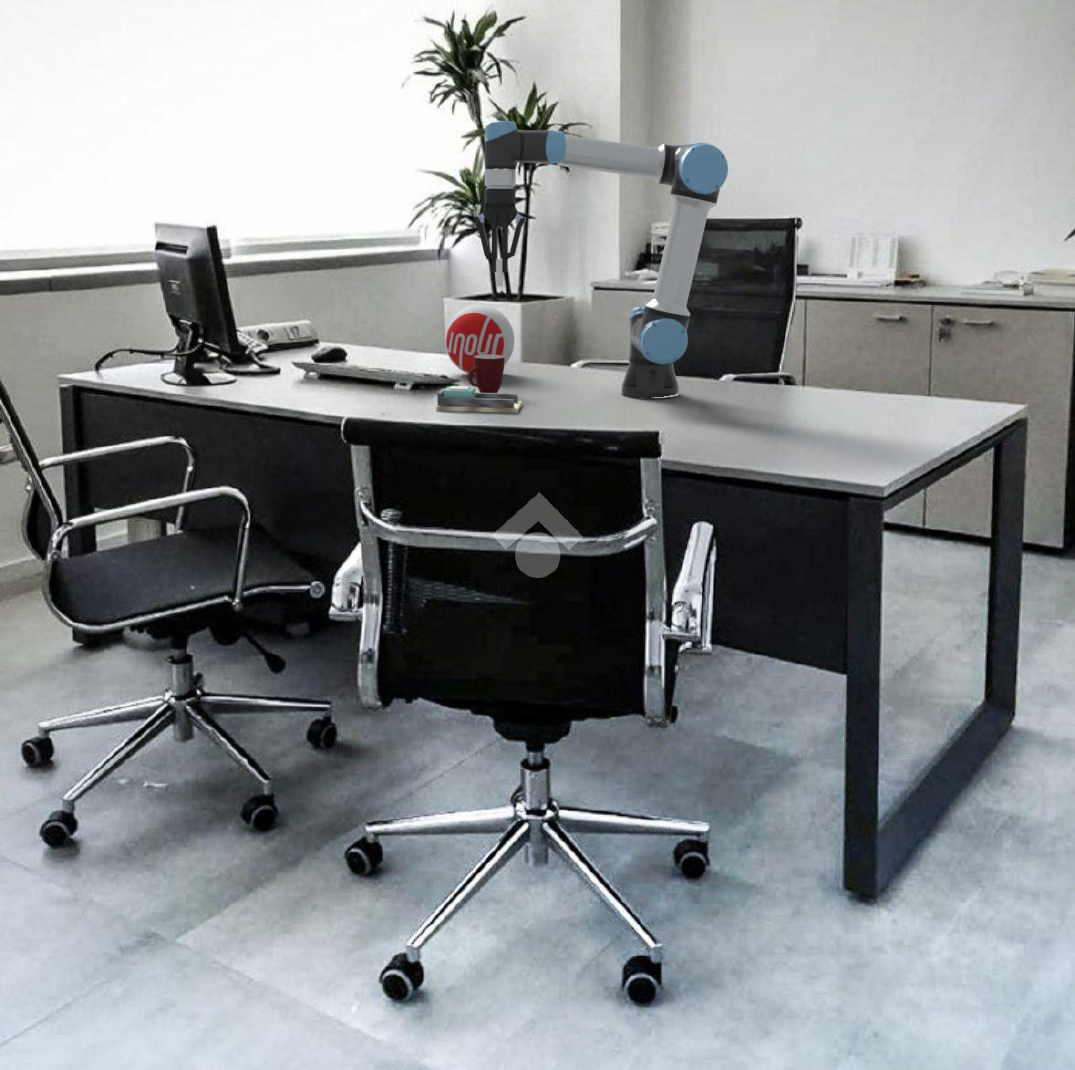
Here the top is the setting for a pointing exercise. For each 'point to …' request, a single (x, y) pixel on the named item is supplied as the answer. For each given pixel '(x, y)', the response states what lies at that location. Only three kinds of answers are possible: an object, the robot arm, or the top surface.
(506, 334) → the decorative sphere
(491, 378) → the mug
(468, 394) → the block
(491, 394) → the rail mount
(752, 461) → the top surface
